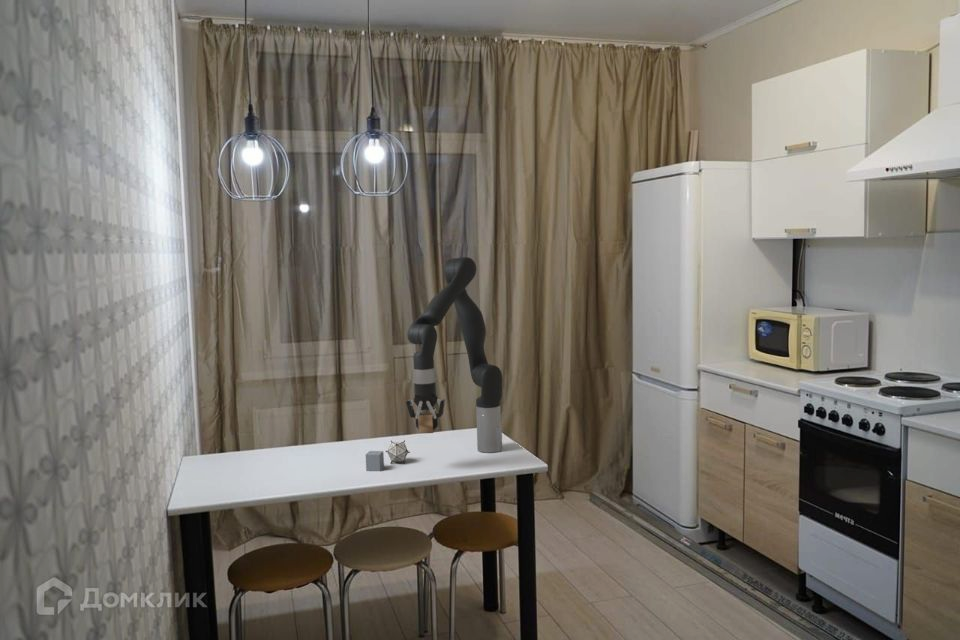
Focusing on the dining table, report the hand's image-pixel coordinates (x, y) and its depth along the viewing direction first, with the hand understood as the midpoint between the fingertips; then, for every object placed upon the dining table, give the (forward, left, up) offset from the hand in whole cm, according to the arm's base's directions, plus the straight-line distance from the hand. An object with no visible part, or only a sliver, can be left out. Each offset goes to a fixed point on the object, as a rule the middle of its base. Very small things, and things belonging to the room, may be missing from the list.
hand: (427, 428), depth 265 cm
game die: (+13, -8, -15) cm, 21 cm away
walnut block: (0, 0, -1) cm, 1 cm away
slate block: (+19, +1, -15) cm, 24 cm away
